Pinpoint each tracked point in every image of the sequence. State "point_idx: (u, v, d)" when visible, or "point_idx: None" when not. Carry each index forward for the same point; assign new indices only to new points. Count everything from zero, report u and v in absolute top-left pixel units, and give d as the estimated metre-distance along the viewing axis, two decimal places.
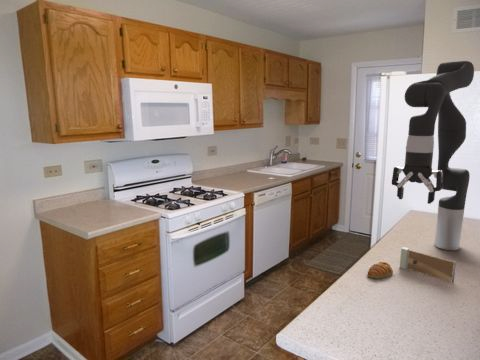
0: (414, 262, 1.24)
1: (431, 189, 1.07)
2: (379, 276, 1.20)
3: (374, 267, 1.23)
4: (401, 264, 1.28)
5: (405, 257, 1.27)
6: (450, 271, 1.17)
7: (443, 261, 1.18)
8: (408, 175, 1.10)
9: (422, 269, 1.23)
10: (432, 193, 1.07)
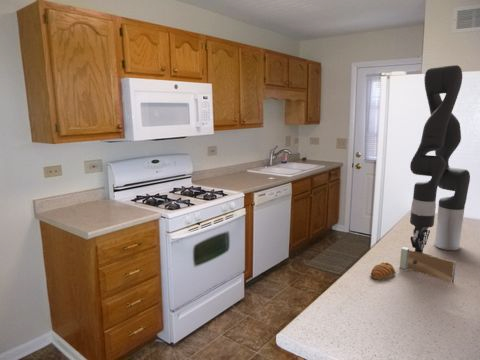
0: (414, 262, 1.24)
1: (423, 246, 1.26)
2: (382, 277, 1.19)
3: (377, 268, 1.22)
4: (401, 264, 1.28)
5: (405, 257, 1.27)
6: (450, 271, 1.17)
7: (443, 261, 1.18)
8: (424, 236, 1.23)
9: (422, 269, 1.23)
10: None
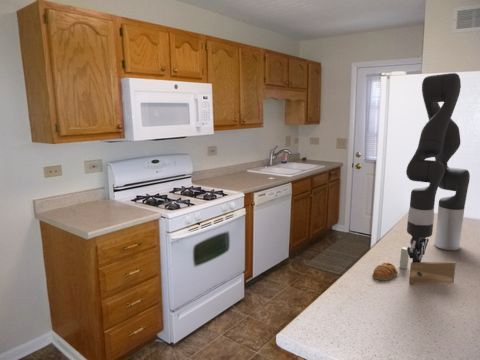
0: (420, 274, 1.15)
1: (422, 256, 1.18)
2: (385, 277, 1.19)
3: (379, 268, 1.22)
4: (401, 264, 1.28)
5: (405, 257, 1.27)
6: (452, 272, 1.16)
7: (446, 264, 1.16)
8: (422, 246, 1.15)
9: (425, 279, 1.17)
10: None
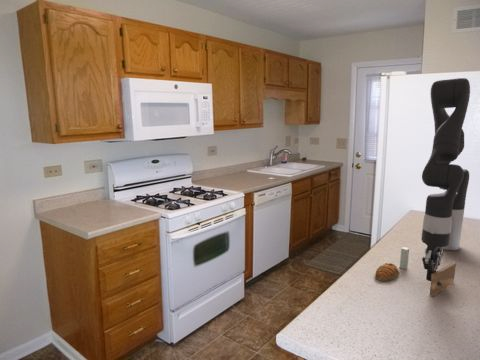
0: (440, 284, 1.09)
1: (437, 267, 1.10)
2: (388, 278, 1.18)
3: (381, 269, 1.22)
4: (401, 264, 1.28)
5: (405, 257, 1.27)
6: (454, 272, 1.16)
7: (452, 267, 1.14)
8: (438, 256, 1.07)
9: (441, 287, 1.11)
10: None
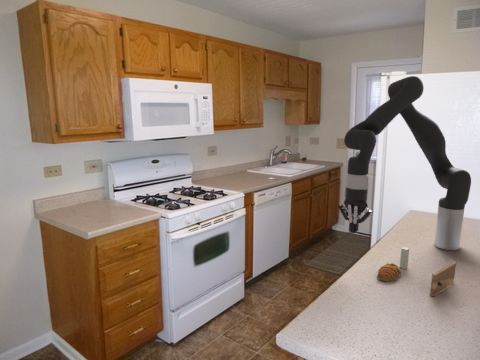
0: (441, 284, 1.09)
1: None
2: (390, 278, 1.18)
3: (383, 269, 1.21)
4: (401, 264, 1.28)
5: (405, 257, 1.27)
6: (454, 272, 1.16)
7: (452, 267, 1.14)
8: None
9: (441, 287, 1.11)
10: None
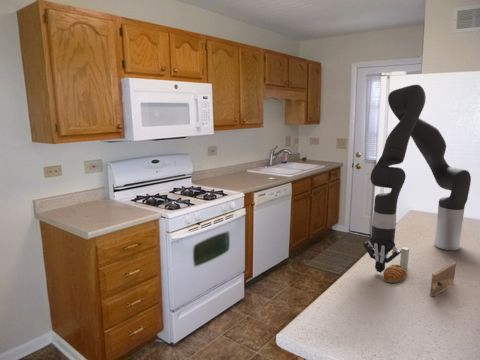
0: (441, 284, 1.09)
1: None
2: (396, 280, 1.17)
3: (389, 271, 1.20)
4: (401, 264, 1.28)
5: (405, 257, 1.27)
6: (454, 272, 1.16)
7: (452, 267, 1.14)
8: None
9: (441, 287, 1.11)
10: None
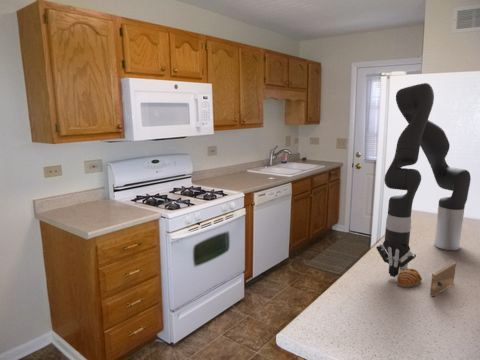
0: (441, 284, 1.09)
1: None
2: (411, 284, 1.14)
3: (403, 275, 1.17)
4: None
5: (405, 257, 1.27)
6: (454, 272, 1.16)
7: (452, 267, 1.14)
8: None
9: (441, 287, 1.11)
10: None
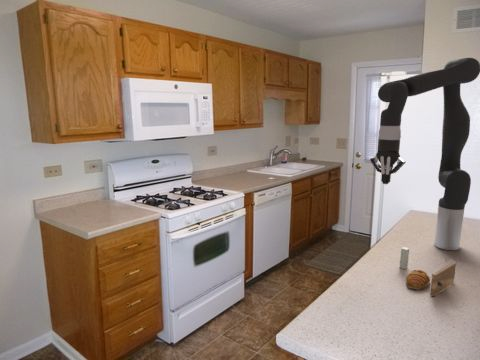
0: (441, 284, 1.09)
1: None
2: (421, 286, 1.13)
3: (413, 277, 1.16)
4: (401, 264, 1.28)
5: (405, 257, 1.27)
6: (454, 272, 1.16)
7: (452, 267, 1.14)
8: None
9: (441, 287, 1.11)
10: None
